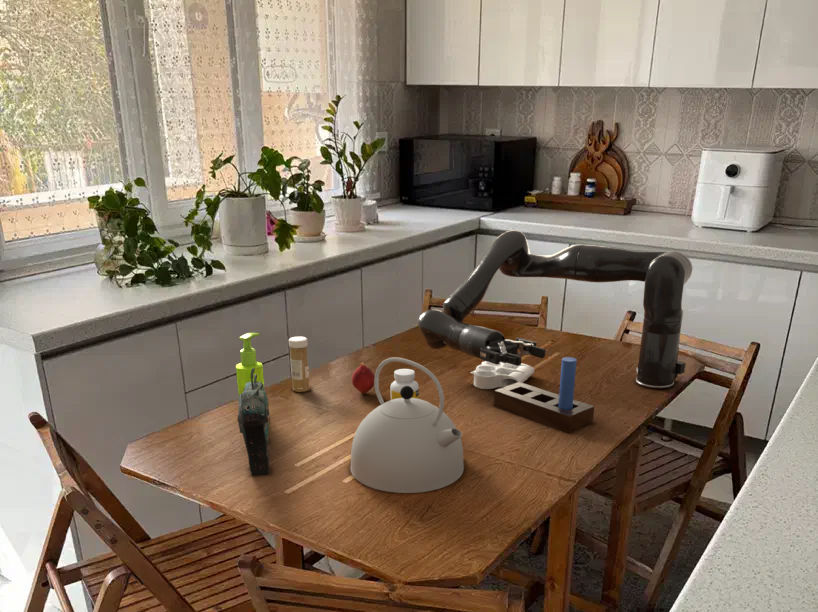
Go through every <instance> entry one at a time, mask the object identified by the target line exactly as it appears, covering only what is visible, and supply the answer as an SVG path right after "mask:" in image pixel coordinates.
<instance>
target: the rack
mask: <svg viewBox="0 0 818 612" xmlns="http://www.w3.org/2000/svg"><path fill="white" fill-rule="evenodd" d="M493 393H494V395H493V398H494V399H493V407H496V408H499V409H501V410H504V411H505V412H506V411H507V412H509V413H512V414H515V415H518V416H521V417H523V418H525V419H528V420H532V421H534V422H537V423H539V424H542V425H544V426H548V427H551V428H553V429H556V430H559V431H561V432H565V433H566V434H569V433H570V434H571V433H572V432H574V431H576V430H580V429H582V428H584V427H586V426H588V425H591V424H593V423H594V414H595V406H594V405H592V404H589V403H585V402H582V401H579V400H576V399H573V409H571V410H568V411H567V410H564V409H561V408H558V404H559V393H558V394H557V393H554V392H552V391H548V390H547V389H543V388H539V387H536V386H533V385H531V384H530V385H529V384H527V383H524V382H523V383H521V382H518V383H515V384H512V385H509V386H506V387H499V388H497V389H494V391H493Z"/></svg>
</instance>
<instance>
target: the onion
mask: <svg viewBox="0 0 818 612" xmlns="http://www.w3.org/2000/svg"><path fill="white" fill-rule="evenodd" d="M374 380H375V373H374V372H373V370H372V369H371V368H369V366H367V365H366V364H365V363H364V362H361V363H360V365H359V366H358V367H357V368H356V369H354V371H353V373H352V375H351V383H352V386H353V387H354V388H355V389H356V390H357V391H358V392H360V393H361V394H362V395H364V394H366V393H368V392H369V391H371V390H372V389H373V388H374V387H375V385H374Z"/></svg>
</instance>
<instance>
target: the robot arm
mask: <svg viewBox="0 0 818 612" xmlns="http://www.w3.org/2000/svg"><path fill="white" fill-rule="evenodd" d="M498 270H499V272H500V273H502V274H503V275H504V276H507V277H512V278H549V279H562V280H571V281H576V282H577V281H578V282H584V283H585V282H586V283H616V282H627V281H628V282H629V281H635V282H644V288H643V300H642V306H643V312H644V313H643V320H642V330H641V338H640V345H639V354H638V362H637V367H636V371H635V372H636V377H635V383H636V384H637V385H639V386H641V387H643V388H648V389H656V390H663V389H665V390H666V389H670V388H673V387H674V384H675V380H677V378H678V375H682V374H685V369H686V362H684V361H680V360H678V359H679V352H680V347H679V345H680V339H681V330H682V324H683V317H684V308H683V303H682V302H683V293H684V285H686V283H687V282H688V281H689V279H690V278H691V276H692V274H693V264H692V261H691V259H690V258H688V256H686V255H685V254H684V253H682V252H679V251H676V250H675V251H674V250H669V251H668V250H667V251H637V250H636V251H635V250H629V249H623V248H616V247H609V246H601V245H592V244H573V245H571V246H568V247H566V248H564V249H562V250H560V251H558V252H556V253H553V254H550V255H540V254H533V253H531V251H530V247H529V242H528V240H527V237H526V235H525V234H524V233H523V232H522V231H519V230H515V229H514V230H512V229H511V230H507V231H505V232H503V233H501V234H500V235H498V237H497V238H496V239H495V240H494V241H493V242H492V244H491V245H490V247H489V248H488V250H487V251H486V252H485V254H484V255H483V256H482V258H481V259H480V260H479V262H478V263H477V264H476V265H475V267H474V269H473V270H472V272H470V274H468V276H467V277H466V278H465V280H464V281H462V283H461V284H460V285H459V286H458V287H457V288H456V289H455V290H454V291H453V292H452V293H451V294H450V295H449V296H448V297H447V298H446V299H445V300H444V302H443V304H442V309H443V311H442V310H439V309H427V310H425V311H423V312H422V313H421V314H420V315H419V316H418V319H417V326H418V329H419V331H420V333H421V334H422V336H423V338H424V340H425V342H426V344H427V345H428V347H430V349H433V350H441V349H443V348H445V347H448V348H450V349H452V350H454V351H458V352H461V353H464V354H466V355H468V356H471V357H473V358H476V359H480V360H482V361H488V362H491V363H493V364H500V362H502V363H509V364H513V365H516V366H519V365H521V363H522V357H523V356H525V355H526V356H533V357H535V358H539V359H544V358H546V349H545V348H543V347H540V346H537V344H538V343H537V341H535V340H534V341H533V340H530V339H525V338H523V337H522V338H521V337H515V340H512V339H506V337H505V336H504V334H503V333H502V332H501V331H498V330H495V329H493V328H492V329H491V328H488V327H484V326H480V325H473V324H469V323H465V322H464V321H465V319H467V317H468V316H469V315H470V314H471V313H472V312H473V311H474V310H476V308H477V307H478V306H479V304H480V303H481V302H482V301H483V299H484V297H485V295H486V294H487V292H488V289H489V287H490V285H491V283H492V281H493V279H494V277H495V275H496V273H497V272H498ZM518 350H519V351H518Z"/></svg>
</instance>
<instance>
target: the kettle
mask: <svg viewBox="0 0 818 612" xmlns="http://www.w3.org/2000/svg"><path fill="white" fill-rule="evenodd" d="M393 362H395V363H396V362H397V363H403V364H406V365H409V366H412V367H414V368H416V369H419V370H420V371H422V372H423V373H425V374H426V375H427V376H428V377H429V378H430V379H431V380H432V381H433V383H434V384H435V386H436V388H437V392H438V395H439V407H438V406H436V405H434V404H432V403H431V402H429V401H426V400H424V399H421V398H419V399H417V398H412V396H413V394H414V391H413V389H412V388H411V387H410V386H404V387H402V389H401V390H400V395H401V397H402V398H397V399H393V400H391V399H390V400H388V401H387V400H386V402H385V401H384V399H383V396H382V393H381V391H380V387H379V386H380V385H379V379H380V373H381V371H382V370H383V368H384V366H386V365H387V364H389V363H393ZM374 375H375V380H374V391H375V394H376V397H377V400H378V402H379V404H380V405H378V406H377V407H375V408H374V409H372V410H371V411H370V412H369V413H368V414H367V415H366V416H365V417H364V418H363V419H362V421H361V422H360V423H359V425H358V426H357V429H356V431H355V432H354V435H353V439H352V443H351V448H350V473H351V475H352V477H353V478H354V479H356V481H358V482H359V483H361V484H362V485H364V486H366V487H368V488H371V489H374V490H377V491H383V492H388V493H395V494H396V493H397V494H415V493H416V494H417V493H426V492H431V491H437V490H440V489H442V488H445V487H447V486H450V485H452V484H453V483H455V482H456V481H458V480H459V479H460V478H461V476H462V475H463V473H464V469H465V465H464V447H463V442H462V437H463V433H462V431H461V430H460V429H458V428H457V427H456V425H455V423H454V422H453V420H452V419H451V418H450V417H449V416H448V414H446V413H445V411H444V408H445V396H444V390H443V386H442V385H441V383H440V381H439V379H438V378H437V377H436V375H435V374H434V373H433V372H432V371H431V370H430V369H428V368H426V367H425V366H423V365H422V364H420V363H418V362H415V361H413V360H410V359H408V358H403V357H396V356H395V357H389V358H386V359H384V360H382V361H381V363H379V365H378V366H377V368H376V370H375V373H374Z"/></svg>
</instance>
